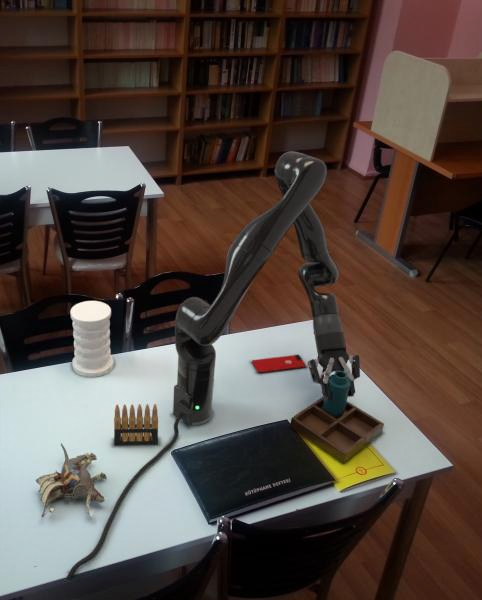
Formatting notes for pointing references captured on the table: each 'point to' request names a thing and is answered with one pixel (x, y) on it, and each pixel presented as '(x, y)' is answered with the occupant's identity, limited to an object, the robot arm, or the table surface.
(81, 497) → the figurine
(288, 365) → the electronic device
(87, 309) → the decorative container
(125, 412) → the ammunition clip
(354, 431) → the compartment tray
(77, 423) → the table surface
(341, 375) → the bottle
